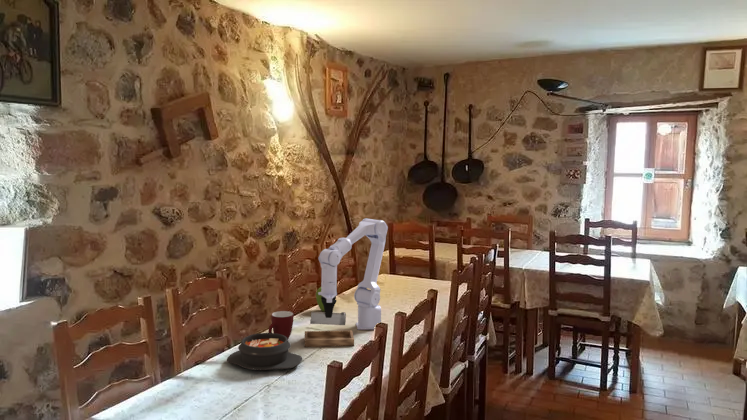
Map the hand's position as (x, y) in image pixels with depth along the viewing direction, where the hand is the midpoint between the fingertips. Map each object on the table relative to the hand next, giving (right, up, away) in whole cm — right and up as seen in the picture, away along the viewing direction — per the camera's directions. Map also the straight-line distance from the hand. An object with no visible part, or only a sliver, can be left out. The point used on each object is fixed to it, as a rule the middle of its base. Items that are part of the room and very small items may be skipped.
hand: (328, 316), depth 203 cm
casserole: (-19, -11, -26) cm, 34 cm away
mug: (-18, -9, -3) cm, 20 cm away
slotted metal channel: (0, -3, 0) cm, 3 cm away
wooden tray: (0, -9, -3) cm, 9 cm away
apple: (-4, -5, +36) cm, 37 cm away
